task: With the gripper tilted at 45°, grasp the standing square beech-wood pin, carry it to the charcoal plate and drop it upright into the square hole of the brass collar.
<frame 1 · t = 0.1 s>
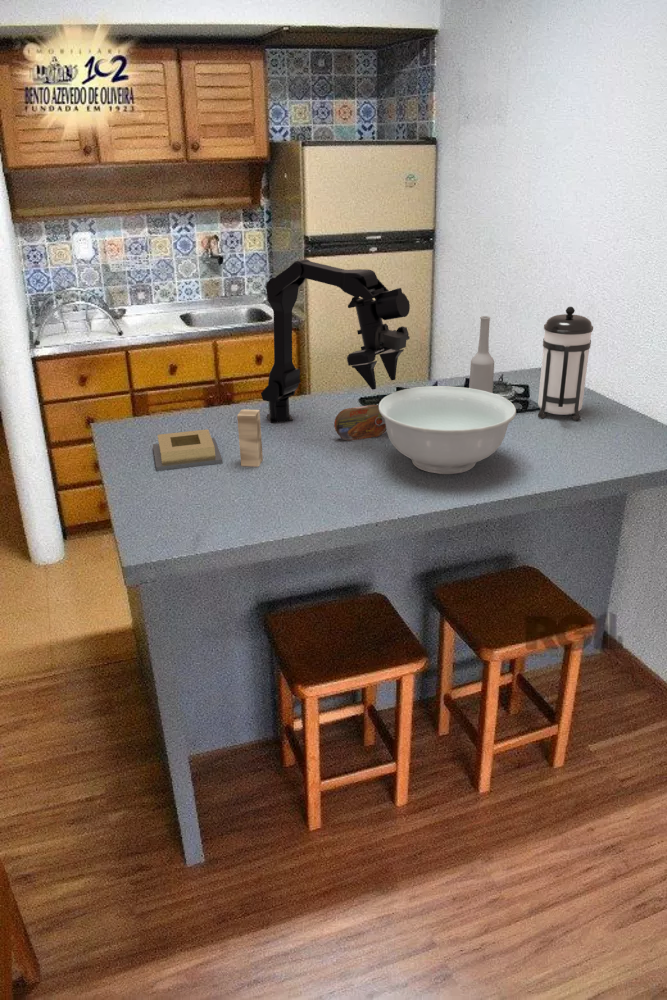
hand: (383, 384, 196), 15 cm above the counter, tool pointing down, fingers open, 9 cm apart
pin: (252, 462, 192), on the counter
coffee press: (560, 415, 219), on the counter
bowl: (444, 463, 190), on the counter
socket: (186, 455, 197), on the counter
tin: (361, 437, 207), on the counter
bottle: (479, 417, 219), on the counter
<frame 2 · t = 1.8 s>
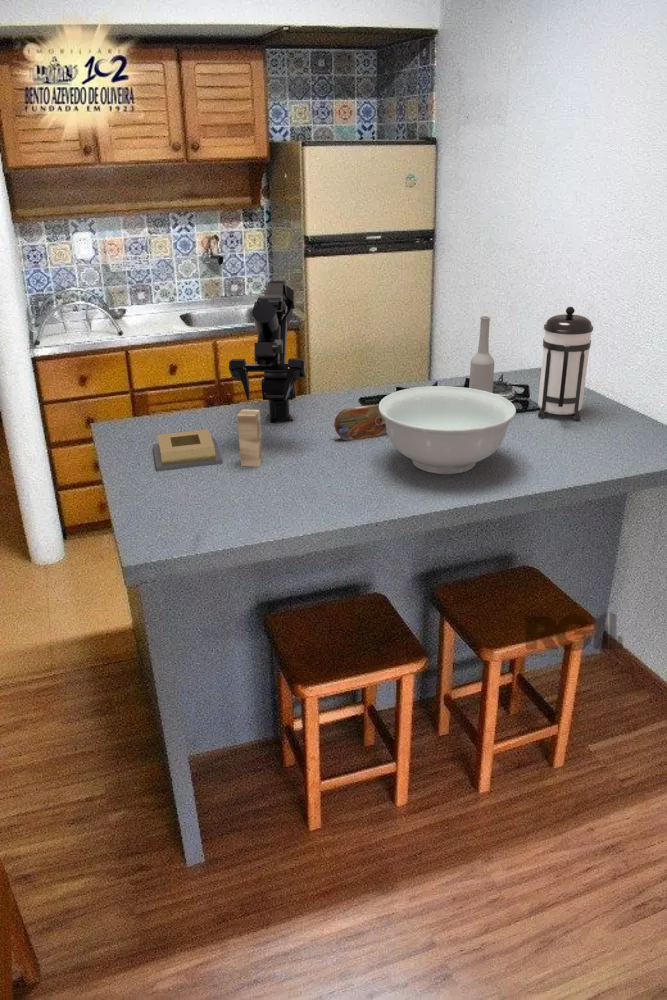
hand: (266, 399, 192), 14 cm above the counter, tool tilted 40°, fingers open, 9 cm apart
nothing on the counter moved.
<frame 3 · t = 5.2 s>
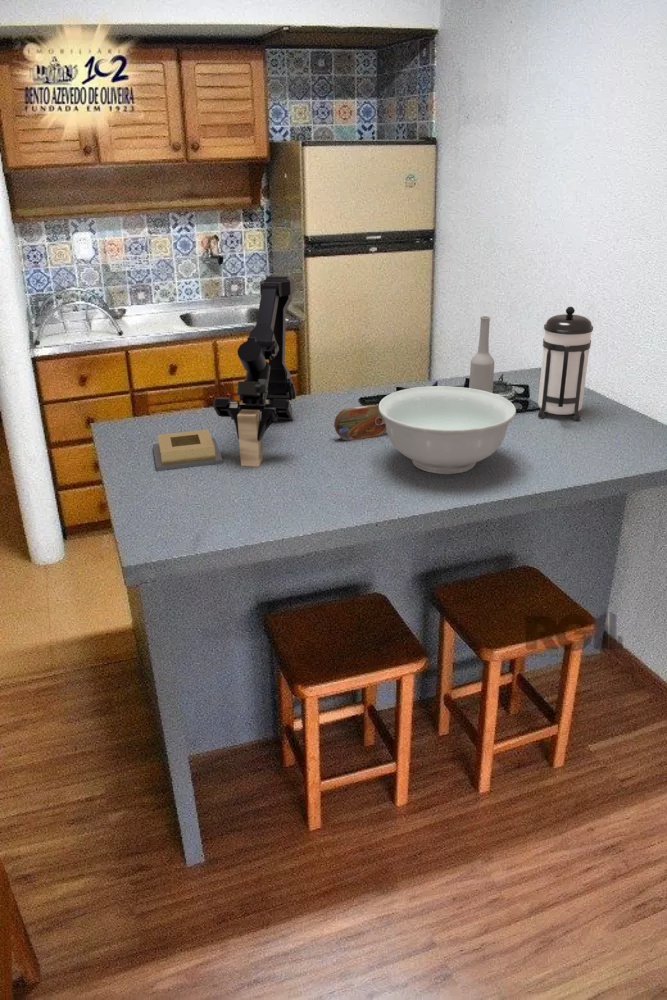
hand: (248, 439, 187), 7 cm above the counter, tool tilted 45°, fingers closed on pin, 4 cm apart
pin: (252, 462, 192), on the counter, touching gripper
everything else where it was.
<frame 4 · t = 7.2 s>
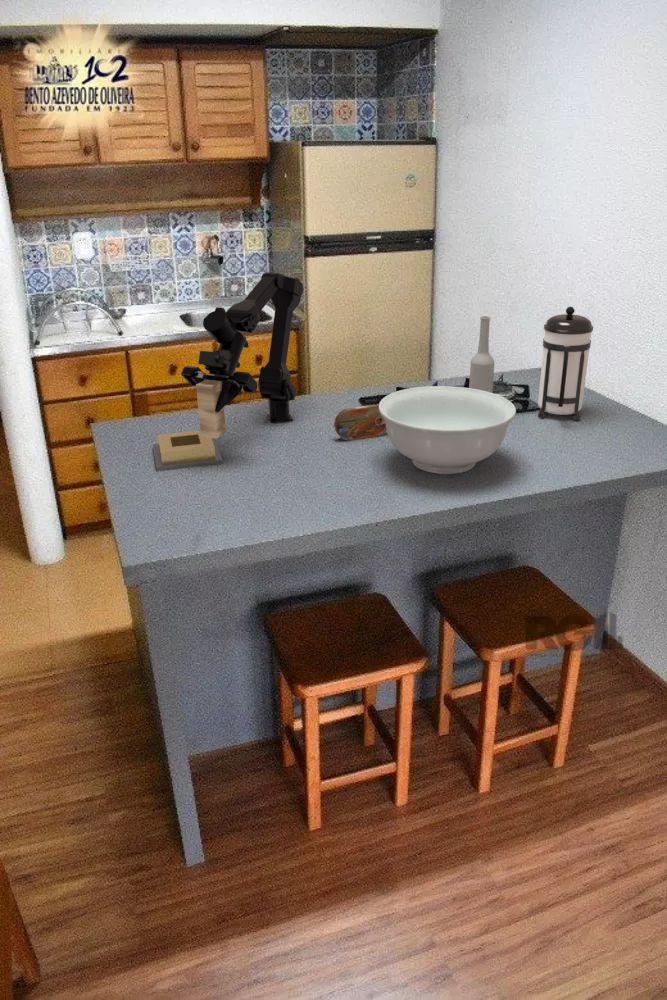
hand: (208, 410, 186), 14 cm above the counter, tool tilted 45°, fingers closed on pin, 4 cm apart
pin: (213, 434, 190), point 7 cm above the counter, touching gripper
everything else where it was.
when the fingers open (9 cm above the counter, at t = 9.1 s): pin drops 2 cm, resting on socket.
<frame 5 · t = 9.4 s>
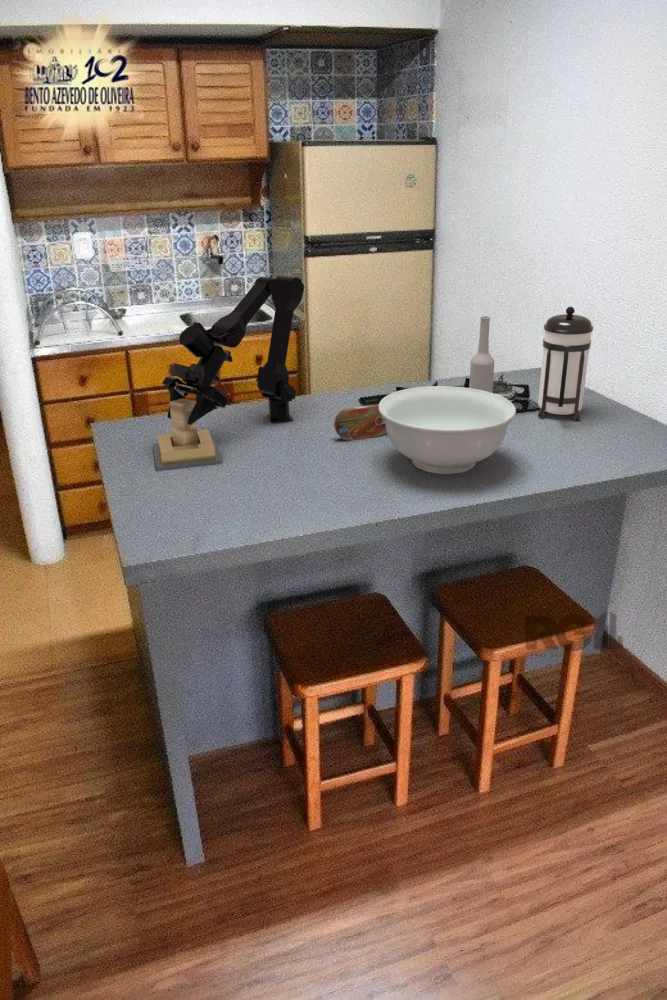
hand: (178, 421, 192), 10 cm above the counter, tool tilted 45°, fingers open, 7 cm apart
pin: (186, 451, 196), point 1 cm above the counter, touching socket
everything else where it was.
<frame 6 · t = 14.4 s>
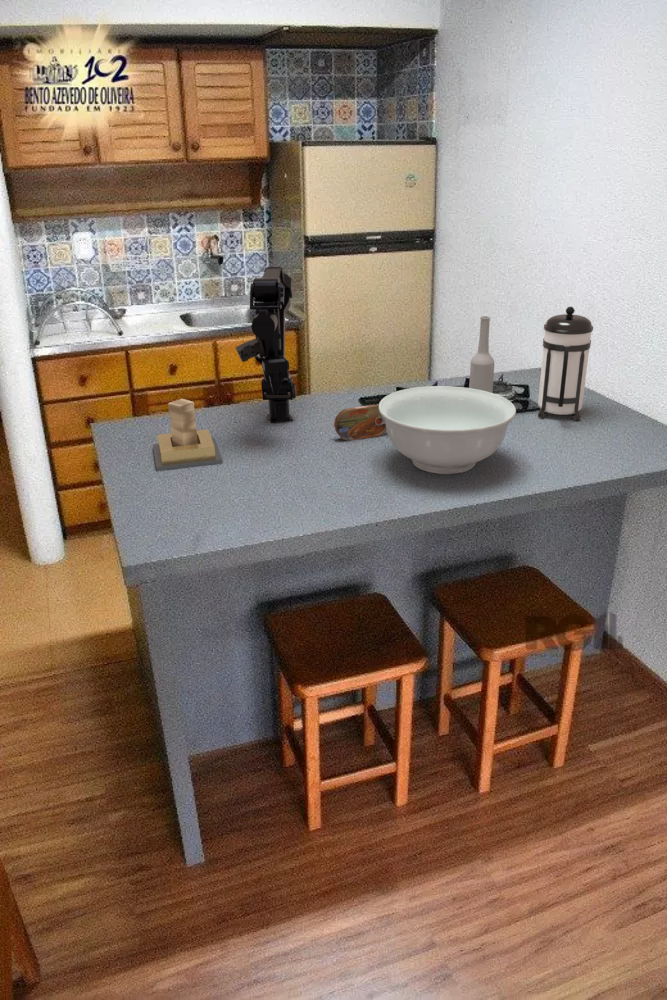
hand: (272, 388, 203), 13 cm above the counter, tool pointing down, fingers open, 9 cm apart
nothing on the counter moved.
at the end: pin 0.1 cm off-centre on the socket, point 1.0 cm above the socket's base; pin tilted 0°; the gripper is holding nothing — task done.
